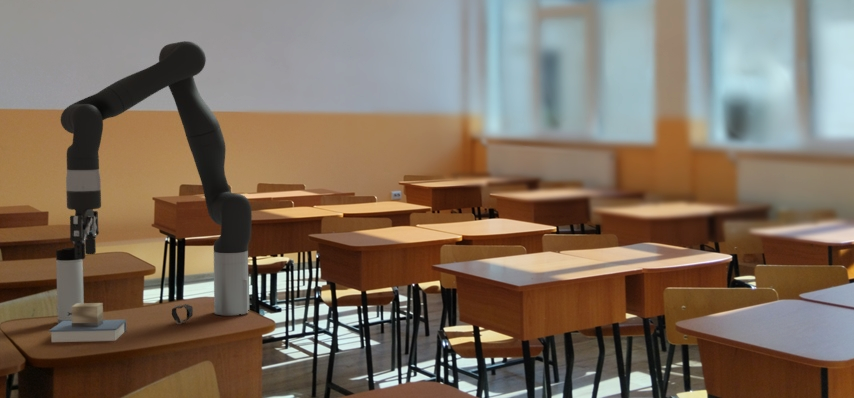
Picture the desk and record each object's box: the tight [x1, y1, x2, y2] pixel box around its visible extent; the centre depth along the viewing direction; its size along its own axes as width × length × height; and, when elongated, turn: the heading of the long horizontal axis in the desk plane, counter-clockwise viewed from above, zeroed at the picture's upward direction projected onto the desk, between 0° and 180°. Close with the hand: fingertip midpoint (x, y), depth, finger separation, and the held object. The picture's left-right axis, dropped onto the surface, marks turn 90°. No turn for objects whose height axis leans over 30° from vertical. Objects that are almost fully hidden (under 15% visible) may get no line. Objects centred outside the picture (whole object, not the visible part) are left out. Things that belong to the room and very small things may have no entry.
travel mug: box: [55, 247, 85, 324], centre depth 208 cm, size 6×7×20 cm
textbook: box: [49, 319, 127, 343], centre depth 194 cm, size 15×10×4 cm, turn 97°
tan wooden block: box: [71, 302, 104, 327], centre depth 193 cm, size 6×4×5 cm, turn 95°
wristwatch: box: [171, 303, 194, 325], centre depth 209 cm, size 3×5×5 cm, turn 77°
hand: (85, 256), depth 191 cm, fingers open, 8 cm apart
